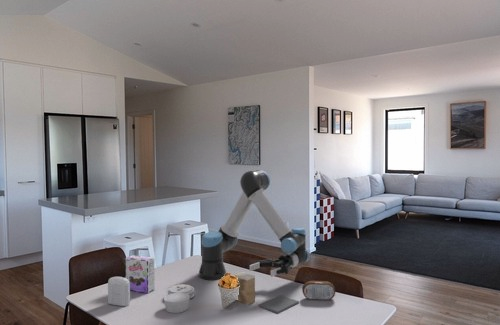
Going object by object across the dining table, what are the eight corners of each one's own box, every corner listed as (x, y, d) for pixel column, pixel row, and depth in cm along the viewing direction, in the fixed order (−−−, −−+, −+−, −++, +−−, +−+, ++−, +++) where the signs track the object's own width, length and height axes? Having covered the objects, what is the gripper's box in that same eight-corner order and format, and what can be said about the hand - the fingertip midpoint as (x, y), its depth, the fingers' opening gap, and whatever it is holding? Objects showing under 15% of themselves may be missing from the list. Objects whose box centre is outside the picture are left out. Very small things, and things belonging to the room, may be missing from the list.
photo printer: (131, 303, 168) (131, 276, 167) (125, 307, 164) (125, 279, 163) (112, 301, 171) (112, 274, 171) (106, 304, 167) (106, 277, 166)
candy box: (125, 290, 184) (124, 257, 184) (133, 286, 190) (132, 254, 190) (147, 293, 179) (147, 260, 179) (155, 289, 185) (154, 257, 184)
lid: (199, 296, 175) (199, 286, 175) (178, 304, 166) (178, 293, 166) (183, 290, 184) (183, 280, 184) (162, 297, 175) (161, 287, 174)
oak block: (235, 300, 170) (234, 274, 170) (242, 297, 174) (242, 271, 174) (247, 304, 165) (247, 278, 165) (255, 301, 168) (254, 275, 168)
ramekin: (161, 306, 164) (161, 294, 164) (186, 302, 169) (186, 290, 169) (166, 316, 154) (166, 303, 154) (192, 311, 158) (192, 299, 158)
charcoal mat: (258, 306, 163) (258, 304, 163) (280, 296, 174) (280, 295, 174) (277, 313, 155) (277, 311, 155) (299, 303, 166) (299, 301, 166)
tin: (334, 298, 171) (334, 280, 171) (335, 301, 168) (335, 283, 168) (302, 297, 173) (302, 280, 172) (302, 300, 169) (302, 282, 169)
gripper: (307, 273, 183) (280, 284, 167) (269, 264, 200) (242, 273, 185) (307, 258, 183) (280, 268, 167) (269, 250, 200) (241, 258, 185)
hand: (260, 270), depth 176 cm, fingers open, 13 cm apart
